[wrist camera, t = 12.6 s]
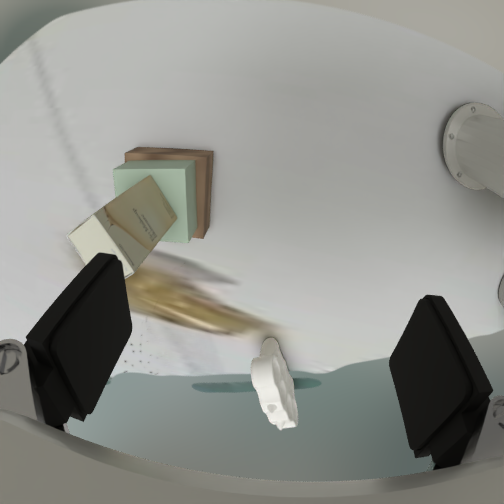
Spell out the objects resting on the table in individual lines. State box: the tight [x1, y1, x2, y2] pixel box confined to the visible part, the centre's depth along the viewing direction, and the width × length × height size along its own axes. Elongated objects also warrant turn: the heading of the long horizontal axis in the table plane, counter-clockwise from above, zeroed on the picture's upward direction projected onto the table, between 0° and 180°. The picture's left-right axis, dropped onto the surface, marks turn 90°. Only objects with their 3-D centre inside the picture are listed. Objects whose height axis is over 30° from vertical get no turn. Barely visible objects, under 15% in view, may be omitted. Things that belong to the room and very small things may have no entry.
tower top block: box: [113, 160, 197, 243], centre depth 37 cm, size 9×9×4 cm
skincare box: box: [67, 175, 177, 278], centre depth 29 cm, size 6×4×12 cm
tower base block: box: [125, 147, 213, 239], centre depth 41 cm, size 11×11×4 cm
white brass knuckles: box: [251, 337, 298, 430], centre depth 51 cm, size 3×18×15 cm, turn 19°
